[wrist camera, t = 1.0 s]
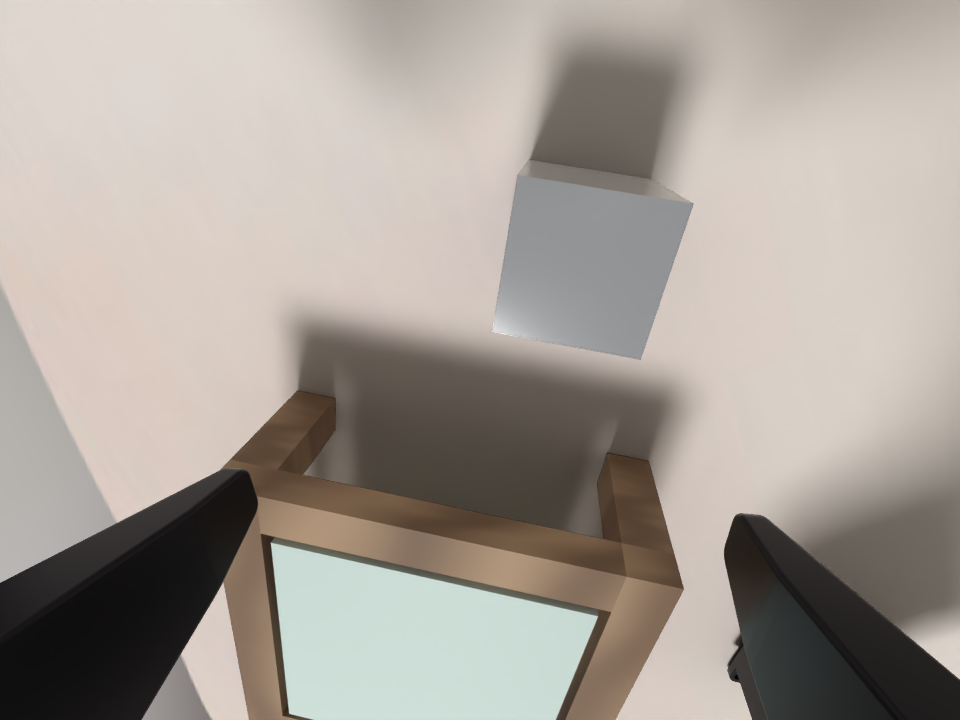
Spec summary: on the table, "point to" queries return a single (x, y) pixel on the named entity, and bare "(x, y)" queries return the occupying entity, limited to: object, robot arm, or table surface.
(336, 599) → the trapdoor
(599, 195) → the stone block
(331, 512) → the frame
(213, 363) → the table surface
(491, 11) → the table surface
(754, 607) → the robot arm
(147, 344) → the table surface
